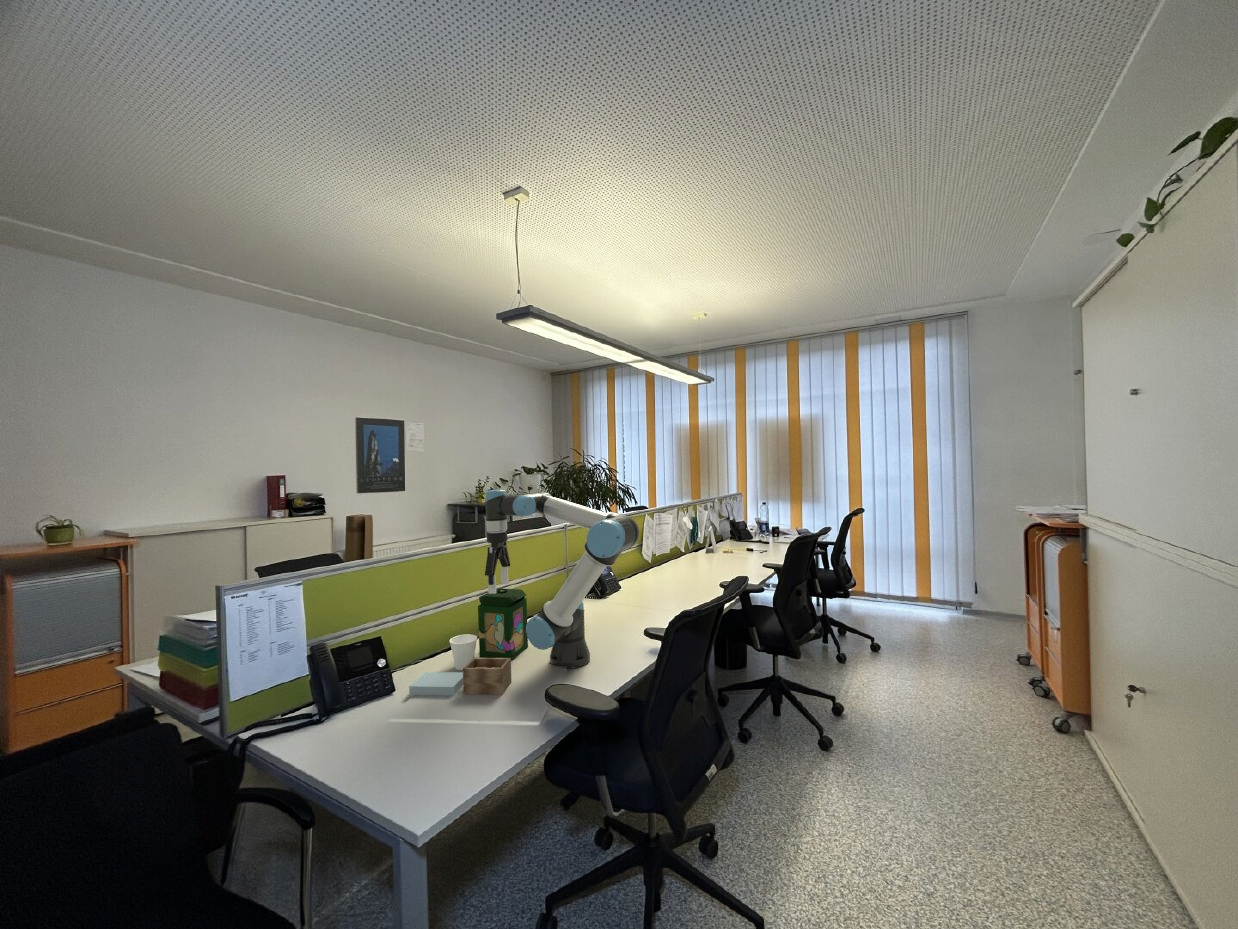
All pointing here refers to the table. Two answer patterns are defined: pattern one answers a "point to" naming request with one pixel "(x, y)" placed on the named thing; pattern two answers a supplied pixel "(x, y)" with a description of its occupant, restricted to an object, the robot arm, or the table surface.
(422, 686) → the lid
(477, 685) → the crate
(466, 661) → the cup
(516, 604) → the container
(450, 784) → the table surface
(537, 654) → the table surface
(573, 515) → the robot arm
